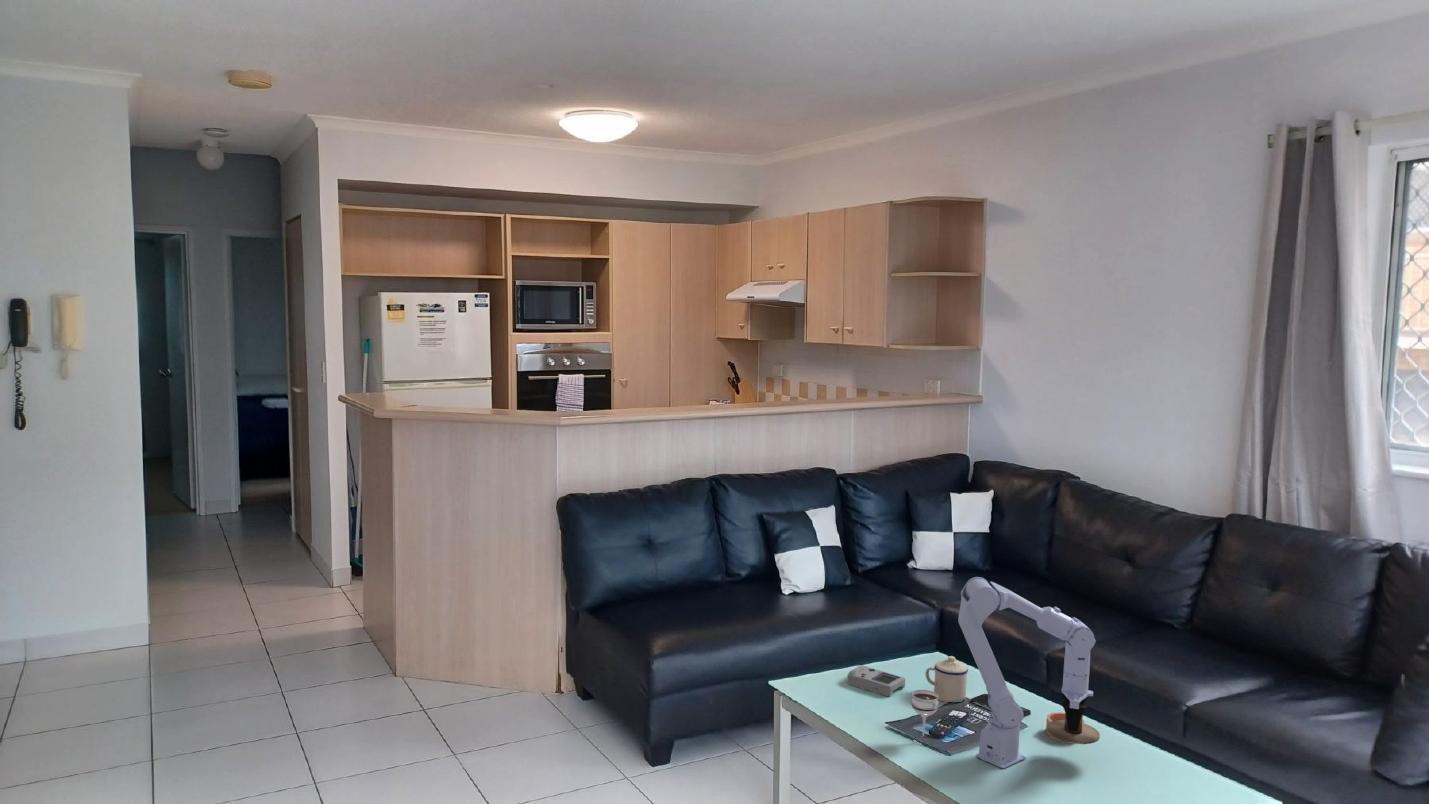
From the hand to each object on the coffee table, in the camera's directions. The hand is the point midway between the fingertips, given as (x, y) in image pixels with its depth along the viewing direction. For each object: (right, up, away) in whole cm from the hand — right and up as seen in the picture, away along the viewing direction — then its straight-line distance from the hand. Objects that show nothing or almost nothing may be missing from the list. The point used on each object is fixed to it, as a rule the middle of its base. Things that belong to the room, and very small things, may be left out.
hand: (1072, 726), depth 231 cm
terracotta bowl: (+3, -7, +15) cm, 17 cm away
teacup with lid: (-22, -5, +38) cm, 44 cm away
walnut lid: (0, -2, 0) cm, 2 cm away
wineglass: (-34, -7, +9) cm, 36 cm away
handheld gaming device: (-40, -4, +44) cm, 60 cm away
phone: (-8, -6, +31) cm, 33 cm away
